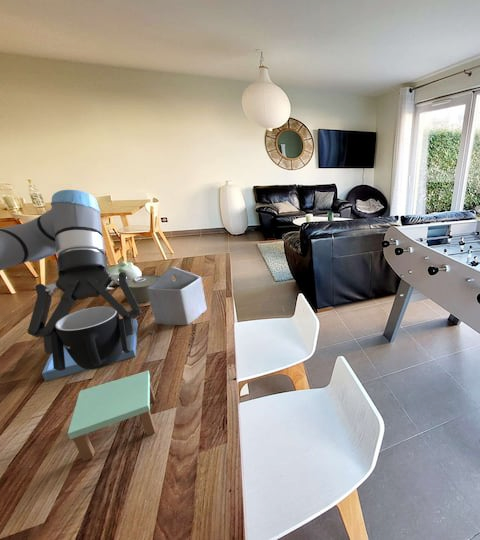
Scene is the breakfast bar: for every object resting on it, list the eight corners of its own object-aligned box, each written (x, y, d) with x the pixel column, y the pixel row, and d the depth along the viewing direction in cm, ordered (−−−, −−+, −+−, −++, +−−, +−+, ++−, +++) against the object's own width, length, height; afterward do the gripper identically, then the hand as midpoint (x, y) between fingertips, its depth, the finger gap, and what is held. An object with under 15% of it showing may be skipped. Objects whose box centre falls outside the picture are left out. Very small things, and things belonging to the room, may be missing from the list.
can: (140, 305, 110) (136, 289, 107) (122, 298, 114) (118, 282, 112) (171, 293, 120) (168, 278, 117) (154, 287, 124) (150, 272, 122)
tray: (45, 381, 73) (41, 373, 72) (63, 341, 88) (60, 334, 87) (135, 356, 83) (133, 349, 82) (137, 324, 98) (135, 318, 97)
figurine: (145, 282, 128) (139, 262, 124) (96, 293, 118) (89, 270, 114) (141, 276, 135) (135, 255, 131) (95, 285, 124) (87, 263, 120)
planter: (159, 333, 94) (145, 279, 87) (155, 323, 99) (142, 271, 92) (212, 317, 104) (204, 268, 97) (206, 309, 109) (197, 261, 102)
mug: (73, 356, 60) (57, 314, 56) (127, 341, 65) (116, 302, 61) (69, 391, 51) (50, 344, 47) (132, 370, 57) (119, 327, 53)
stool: (81, 463, 55) (67, 433, 52) (91, 418, 64) (79, 390, 61) (156, 433, 61) (148, 405, 58) (156, 396, 70) (148, 370, 67)
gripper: (147, 256, 69) (164, 345, 63) (16, 273, 58) (22, 384, 52) (142, 241, 63) (160, 337, 57) (-6, 256, 52) (-3, 379, 46)
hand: (94, 359), depth 54 cm, fingers closed on mug, 9 cm apart
